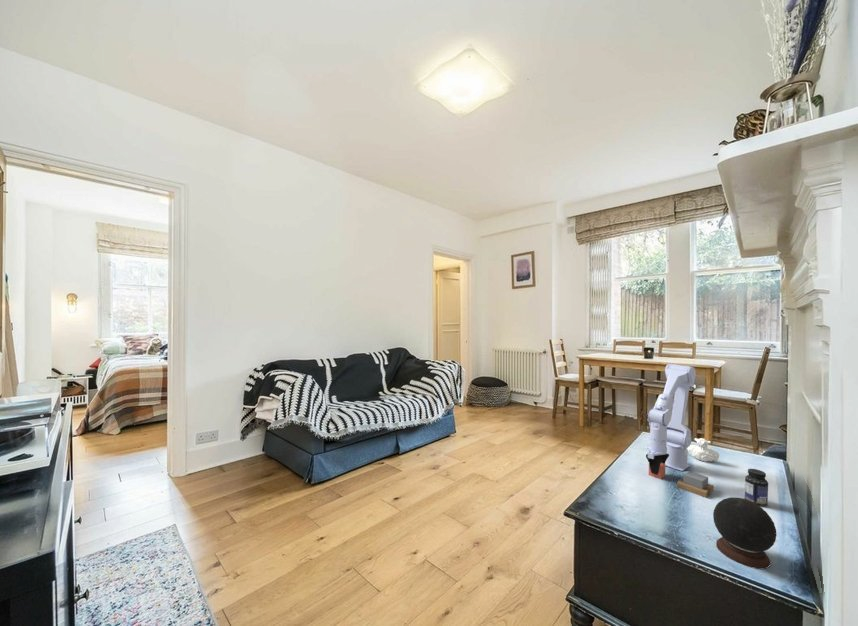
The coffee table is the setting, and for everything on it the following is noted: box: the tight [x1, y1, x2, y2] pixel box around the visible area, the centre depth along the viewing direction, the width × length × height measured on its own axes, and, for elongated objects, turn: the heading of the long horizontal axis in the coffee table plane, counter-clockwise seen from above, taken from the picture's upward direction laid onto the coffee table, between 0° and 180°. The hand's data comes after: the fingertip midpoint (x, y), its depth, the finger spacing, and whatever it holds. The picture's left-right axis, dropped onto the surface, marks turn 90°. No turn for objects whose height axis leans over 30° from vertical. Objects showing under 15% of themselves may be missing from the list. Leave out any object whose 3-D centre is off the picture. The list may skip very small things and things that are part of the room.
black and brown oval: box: [712, 496, 777, 569], centre depth 98 cm, size 13×13×15 cm
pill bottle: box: [744, 468, 769, 507], centre depth 126 cm, size 6×6×11 cm
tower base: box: [676, 477, 714, 499], centre depth 134 cm, size 9×9×2 cm
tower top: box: [682, 470, 709, 489], centre depth 135 cm, size 6×6×3 cm
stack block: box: [648, 463, 667, 480], centre depth 145 cm, size 4×4×5 cm
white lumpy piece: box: [687, 437, 720, 463], centre depth 161 cm, size 12×8×11 cm
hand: (656, 471), depth 145 cm, fingers closed on stack block, 4 cm apart
